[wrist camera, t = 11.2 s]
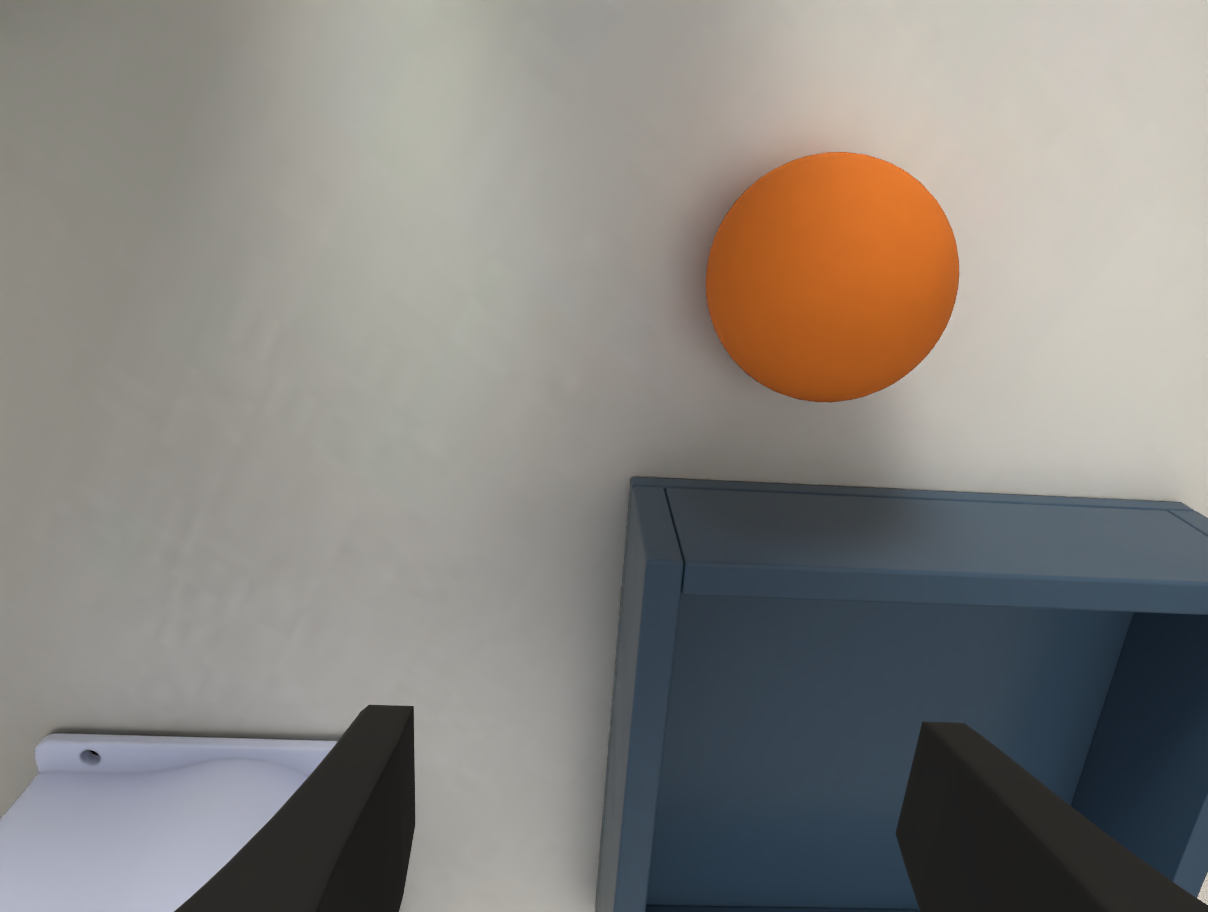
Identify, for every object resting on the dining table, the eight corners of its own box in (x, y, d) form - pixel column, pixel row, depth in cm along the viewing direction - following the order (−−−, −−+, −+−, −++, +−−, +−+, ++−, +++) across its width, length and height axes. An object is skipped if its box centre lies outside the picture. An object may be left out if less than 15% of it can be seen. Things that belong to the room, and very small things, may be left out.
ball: (658, 358, 20) (756, 449, 16) (684, 132, 18) (805, 165, 14) (842, 353, 22) (976, 434, 17) (885, 143, 19) (1051, 178, 15)
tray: (595, 906, 27) (599, 1054, 22) (630, 475, 22) (645, 560, 17) (1044, 913, 28) (1132, 1057, 23) (1181, 501, 23) (1326, 588, 18)
